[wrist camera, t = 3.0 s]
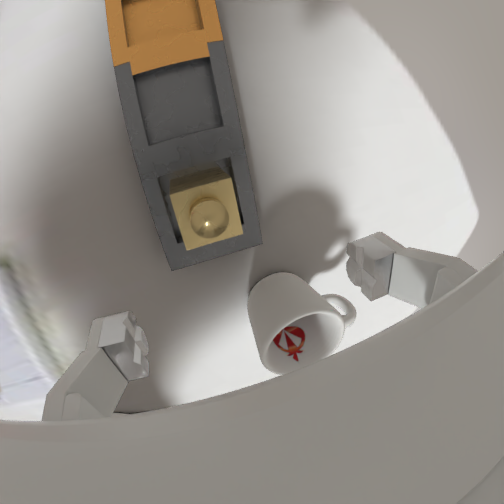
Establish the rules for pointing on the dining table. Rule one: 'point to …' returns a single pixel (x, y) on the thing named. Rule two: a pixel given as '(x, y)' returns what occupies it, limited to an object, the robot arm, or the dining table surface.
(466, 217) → the dining table surface
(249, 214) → the rail
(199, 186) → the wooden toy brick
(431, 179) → the dining table surface
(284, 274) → the cup
